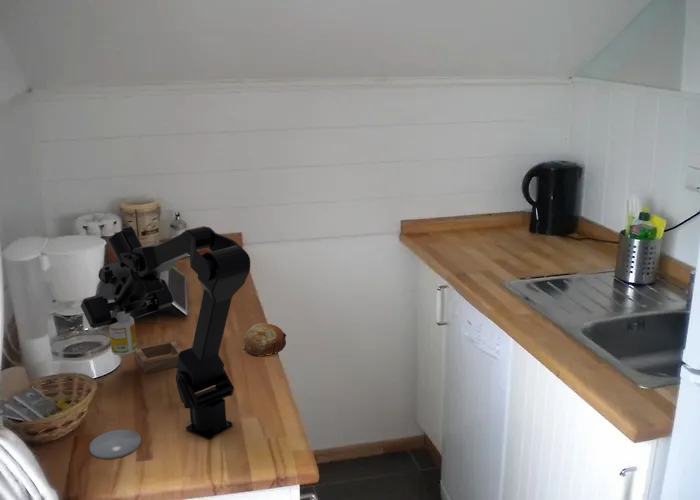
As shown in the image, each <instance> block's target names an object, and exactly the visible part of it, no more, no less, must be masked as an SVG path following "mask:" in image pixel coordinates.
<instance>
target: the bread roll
mask: <svg viewBox="0 0 700 500" xmlns="http://www.w3.org/2000/svg"><path fill="white" fill-rule="evenodd" d="M244 336H245V337H244V345H243V350H245V349H246V350H245V351H246V352H247V353H249V354H250V355H251V356H255V355H266V354H271V353H275V352H277V353H278V354H279V353H280V352H282V351H283V349H284V348H285V347H286V344H287V341H286V340H287V339H286V337H287V334H286V333H285V332H284V331H283V330H282V328H280V327H279V326H277V325H275V324H272V323H256V324H253V325H252V326H251V327H250V328H248V330H247V331H246V333H245V335H244ZM277 353H275V354H277Z"/></svg>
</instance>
